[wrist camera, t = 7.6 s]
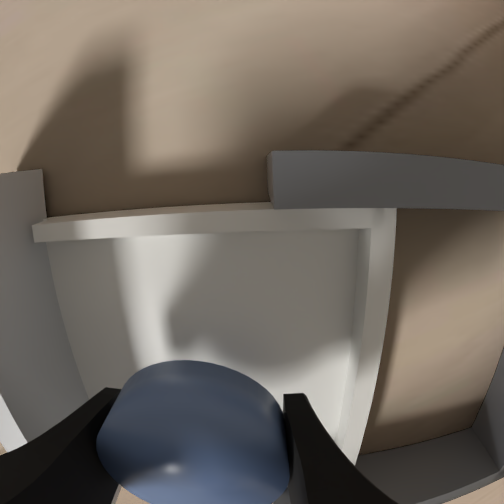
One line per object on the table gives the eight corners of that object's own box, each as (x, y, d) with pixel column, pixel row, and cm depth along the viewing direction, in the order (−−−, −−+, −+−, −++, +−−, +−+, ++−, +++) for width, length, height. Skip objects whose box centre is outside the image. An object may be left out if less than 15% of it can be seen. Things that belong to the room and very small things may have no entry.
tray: (339, 475, 14) (355, 550, 9) (95, 464, 15) (66, 527, 10) (376, 144, 10) (465, 136, 5) (8, 177, 10) (-87, 194, 5)
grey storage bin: (478, 435, 14) (505, 476, 10) (272, 475, 14) (274, 535, 10) (546, 176, 10) (607, 187, 6) (266, 155, 10) (272, 150, 6)
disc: (283, 472, 9) (286, 517, 7) (141, 465, 10) (127, 505, 8) (286, 358, 8) (293, 411, 6) (99, 354, 8) (69, 396, 6)
